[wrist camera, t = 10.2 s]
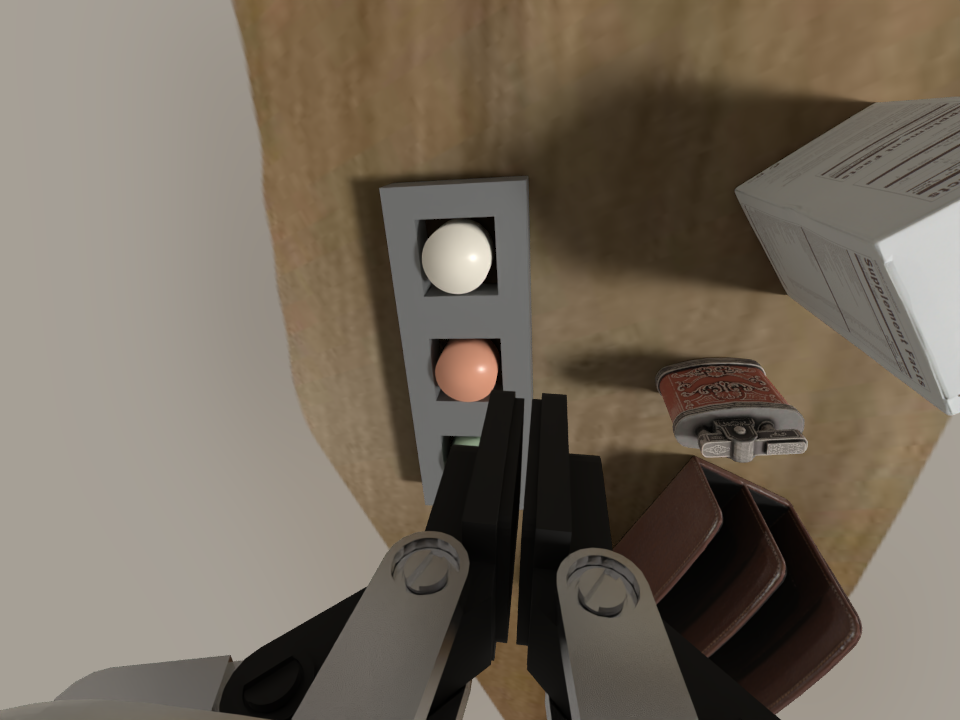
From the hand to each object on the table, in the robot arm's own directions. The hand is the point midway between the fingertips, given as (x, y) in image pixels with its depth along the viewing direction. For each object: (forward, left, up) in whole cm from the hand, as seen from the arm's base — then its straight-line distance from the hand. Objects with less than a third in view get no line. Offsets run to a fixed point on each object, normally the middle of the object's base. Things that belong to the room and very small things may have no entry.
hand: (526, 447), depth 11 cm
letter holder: (+31, +12, -28) cm, 44 cm away
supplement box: (0, +19, -28) cm, 34 cm away
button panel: (+11, -6, -28) cm, 30 cm away
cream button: (+2, -6, -27) cm, 28 cm away
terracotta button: (+11, -6, -27) cm, 30 cm away
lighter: (+13, +13, -28) cm, 33 cm away
